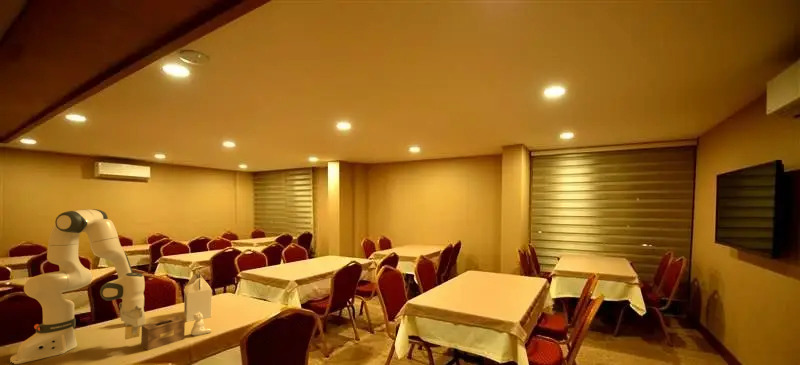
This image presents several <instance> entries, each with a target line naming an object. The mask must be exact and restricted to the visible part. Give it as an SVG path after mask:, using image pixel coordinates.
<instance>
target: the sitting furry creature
mask: <svg viewBox="0 0 800 365" xmlns="http://www.w3.org/2000/svg"><path fill="white" fill-rule="evenodd" d="M193 317H194V319H195V320H194V323H193V326H192V328H191V331H190V333H191V335H192V336H195V337H198V336H203V335H207V334H208V335H209V334H211V333H212V329H211V328H205V322H204V320H203V319H202V318H203V316H202V314H201V313H200V312H197V313H196V314H193Z"/></svg>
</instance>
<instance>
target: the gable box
mask: <svg viewBox="0 0 800 365" xmlns="http://www.w3.org/2000/svg"><path fill="white" fill-rule="evenodd" d="M195 272H196V273H195ZM193 273H194V274H193V275H192V277H191V278H190V279H189V281H188V282H187V283H186V285H185V286H184V299H183V300H184V305H183V306H184V311H183V314H184V317H185V322H187V323H188V322H195V321H196V320H195V319H194V317H193V314H196V313H197V312H200V313H201V314H202V316H203V318H202V319H209V318H211V317H212V293H213V292H212V291H213V290H212V288H211V286H210V285H209V283H208V282H207V281H206V280H205V278H204V277H203V276H202V274H201V273H200V271H199V270H198V269H196V271H194V272H193Z"/></svg>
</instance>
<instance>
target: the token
mask: <svg viewBox="0 0 800 365" xmlns="http://www.w3.org/2000/svg"><path fill="white" fill-rule="evenodd" d="M124 327H125V329H124V339H125V340H130V339H134V338H139V337H140V331H141V330H140V328H141V327H138V329H137V333H136V334H132V330H133V327H132V325H124Z"/></svg>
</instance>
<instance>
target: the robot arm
mask: <svg viewBox="0 0 800 365" xmlns="http://www.w3.org/2000/svg"><path fill="white" fill-rule="evenodd" d="M82 233H85V234H86V235H87V236H88V240H89V244H90V250H91V252H92V253H93V255H94V256H96V257H98V258H100V259H105V260H108V261H109V262H111V263H112V264H113V266H114V268H115V271H116V274H117V279H113V280H111V281H108V282H106V283H104V284H103V285H102V286H101V287H100V290H99V294H100V296H101V298H102V299H103V300H104V301H108V302H109V301H115V300H118V299H121V300H122V301H121V302H120V303H119V305H118V308H120V312H119V313H120V315H119V316H120V320H121V322H123V323H124V322H126V323H127V325H132V327H133V330H132V334H136V333H137V329H138V327H140V328H142V326H144V325H146V312H145V309H144V310H142V308H143V307H145V294H144V292H145V287H146V284H145V283H146V282H145V276H144V274H142V272H141V273H140V272H133V270H132V269H133V268H132V266H131V264H130V261H129V258H128V254H127V253H126V250H124V249H123V247H122V245H121V242H120V238H119V235H118V231H117V228H116V226H115V224H114V222H113V221H112V220H111V219H108V215H107V213H106V212H105V211H103V210H100V209H95V208H94V209H93V208H92V209H88V208H87V209H79V210H78V209H77V210H67V211H64V212H62V213H60V214H58V216H57V217H56V218H55V223H54V225H53V226H52V229H51V231H50V233H49V238H48V244H47V253H46V254H47V255H46V259H47V262H49V263H50V264H54V265H57V266H58V267H59V271H53V272H46V273H41V274H38V275H35V276H33V277H29V278H28V279H27V280H26V281H25V284H24V286H23V292H24V293H25V294H26V295H27V297H29V298H32V299H35V300H36V301H37V302H38V303H39V304H40V306H41V308H42V323H40V324H39V323H36V324H34V325H33V328H34V329H35V333H34V334H32V335H31V336H30V337H28V338H27V339H25V340H24V341H23V342H21V344H20V345H19V347H18V349H17V353H15V354H13V355H12V356H10V358H9V363H11V362H12V363H14V365H19V364H25V363H28V362H32V361H37V360H41V359H45V358H51V357H55V356H59V355H62V354H65V353H66V352H68V351H70V350H73V349H74V348H75V347H77V346H78V342H77V339H76V334H75V328H76V317H75V307H76V306H75V303H74V301H72V299H71V300H70V299H67V298H64V297H63V293H66V292H71V291H76V290H79V289H81V288H85V287H86V286H87V287H88V286H89V284H90V283H92V280H93V273H92V272H91V270H90V269H88V268H87V267H85V266H84V265H83V264H82V263H81V260H80V258H79V249H80V248H79V246H80V237H81V234H82ZM127 325H126V326H127ZM12 363H11V364H12Z"/></svg>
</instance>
